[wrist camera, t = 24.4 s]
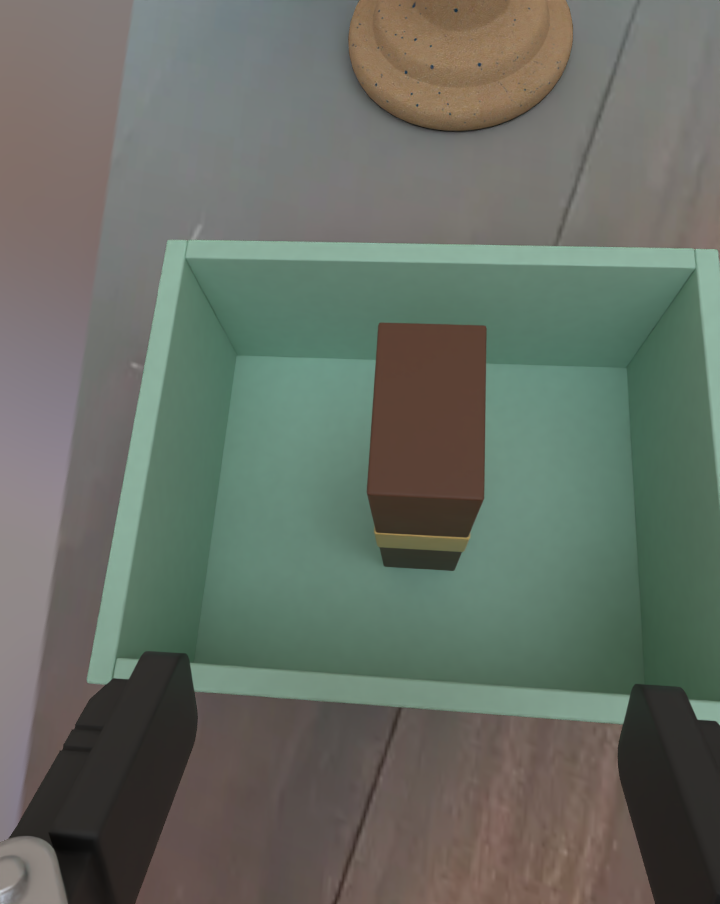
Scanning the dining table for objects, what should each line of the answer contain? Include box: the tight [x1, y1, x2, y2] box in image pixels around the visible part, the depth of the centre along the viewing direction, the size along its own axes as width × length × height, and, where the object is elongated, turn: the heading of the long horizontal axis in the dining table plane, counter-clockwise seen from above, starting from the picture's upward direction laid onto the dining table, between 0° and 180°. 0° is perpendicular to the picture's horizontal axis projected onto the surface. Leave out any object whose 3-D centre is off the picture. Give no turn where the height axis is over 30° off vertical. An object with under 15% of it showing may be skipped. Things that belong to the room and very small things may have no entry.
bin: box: [87, 240, 720, 725], centre depth 26 cm, size 20×16×9 cm
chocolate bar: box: [367, 322, 487, 571], centre depth 24 cm, size 3×5×12 cm, turn 176°
